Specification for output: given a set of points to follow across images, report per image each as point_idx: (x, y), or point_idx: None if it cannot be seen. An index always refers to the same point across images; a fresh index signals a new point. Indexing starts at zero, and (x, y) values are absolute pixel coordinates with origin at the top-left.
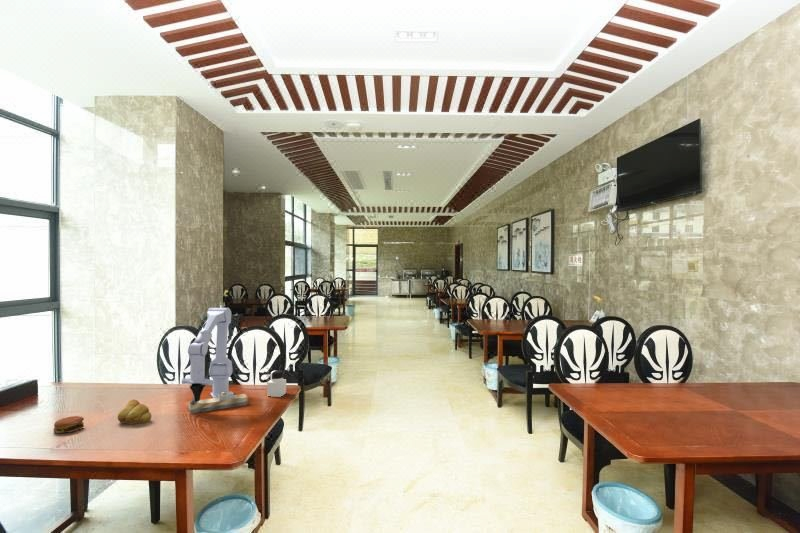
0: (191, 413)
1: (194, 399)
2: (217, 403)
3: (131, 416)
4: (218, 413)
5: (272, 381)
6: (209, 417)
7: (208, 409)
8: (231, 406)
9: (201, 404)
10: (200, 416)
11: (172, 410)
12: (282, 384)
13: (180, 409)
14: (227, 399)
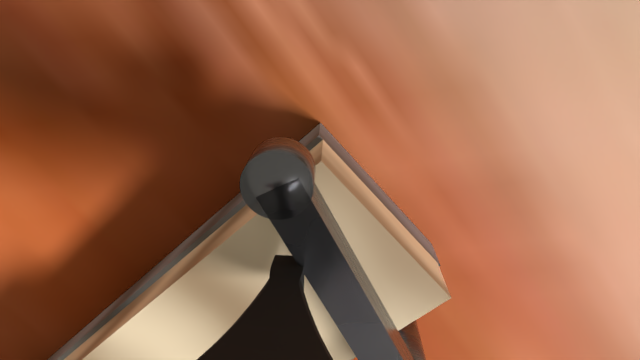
0: (312, 131)
1: (312, 273)
2: (109, 328)
3: None
4: (27, 182)
5: None
6: (5, 43)
7: (185, 242)
8: (56, 353)
9: (220, 242)
10: (136, 57)
11: (601, 193)
12: None
13: (523, 234)
14: None
